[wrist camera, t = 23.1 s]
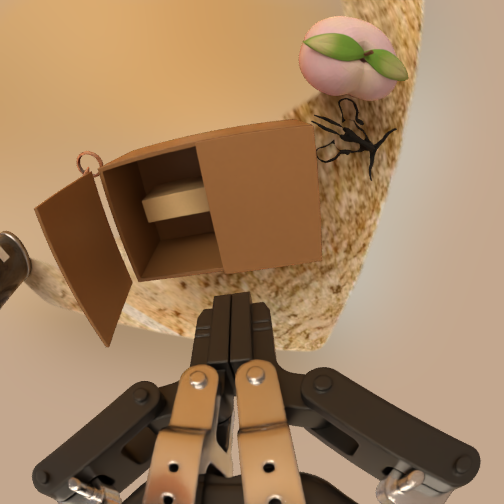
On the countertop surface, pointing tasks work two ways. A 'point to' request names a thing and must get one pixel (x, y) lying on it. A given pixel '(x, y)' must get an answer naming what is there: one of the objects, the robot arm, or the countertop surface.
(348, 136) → the creature
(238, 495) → the robot arm
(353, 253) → the countertop surface
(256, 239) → the flap
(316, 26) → the decorative fruit
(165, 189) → the tan wooden block
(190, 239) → the carton
